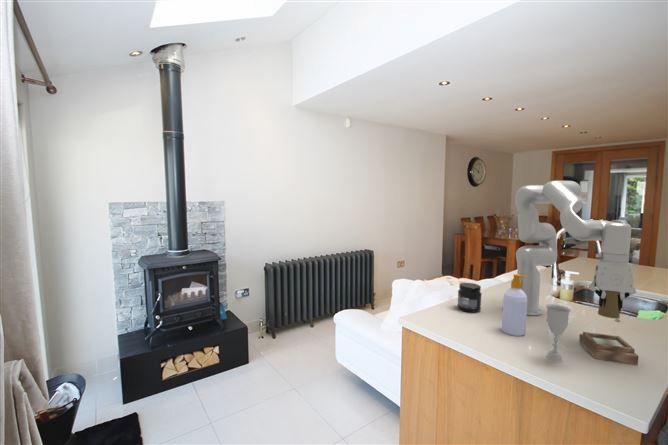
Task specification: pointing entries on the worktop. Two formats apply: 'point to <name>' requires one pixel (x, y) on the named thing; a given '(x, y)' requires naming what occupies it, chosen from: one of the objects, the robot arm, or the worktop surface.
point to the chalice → (556, 327)
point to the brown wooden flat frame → (608, 348)
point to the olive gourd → (610, 305)
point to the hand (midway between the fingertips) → (610, 308)
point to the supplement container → (469, 297)
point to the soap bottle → (514, 308)
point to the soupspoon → (618, 318)
